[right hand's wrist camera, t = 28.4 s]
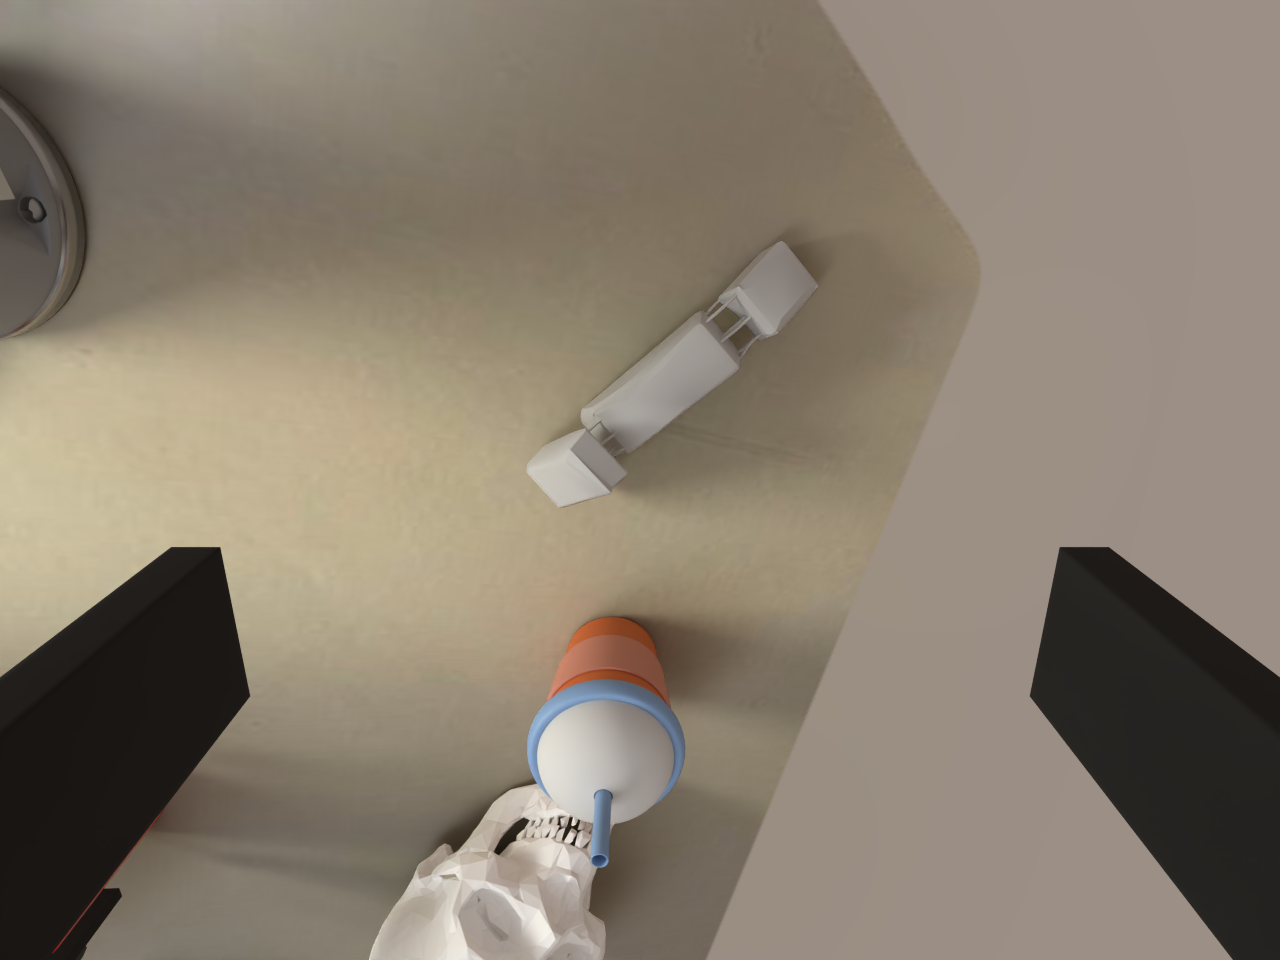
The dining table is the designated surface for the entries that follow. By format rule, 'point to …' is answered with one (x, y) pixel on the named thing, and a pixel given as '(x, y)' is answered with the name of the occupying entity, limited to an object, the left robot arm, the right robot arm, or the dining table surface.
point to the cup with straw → (607, 730)
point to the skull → (501, 893)
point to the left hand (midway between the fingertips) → (79, 832)
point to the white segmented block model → (670, 379)
